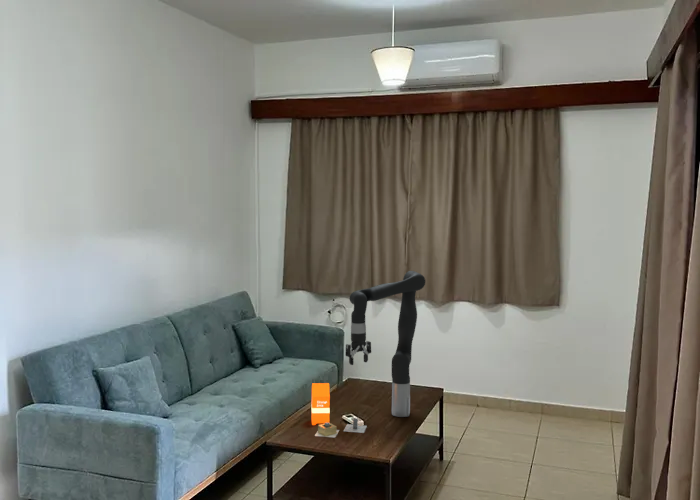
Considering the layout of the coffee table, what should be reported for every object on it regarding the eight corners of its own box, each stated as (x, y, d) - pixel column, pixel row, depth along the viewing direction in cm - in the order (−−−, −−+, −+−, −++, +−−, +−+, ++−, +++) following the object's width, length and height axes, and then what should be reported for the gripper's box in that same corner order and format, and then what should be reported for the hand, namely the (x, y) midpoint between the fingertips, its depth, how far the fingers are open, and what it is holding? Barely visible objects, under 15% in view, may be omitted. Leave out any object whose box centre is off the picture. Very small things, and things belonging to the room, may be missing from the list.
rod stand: (367, 427, 326) (367, 416, 325) (363, 434, 316) (363, 423, 315) (347, 425, 327) (347, 415, 327) (343, 432, 318) (343, 422, 317)
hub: (339, 431, 319) (339, 420, 318) (335, 439, 309) (335, 427, 309) (319, 430, 321) (319, 419, 320) (314, 437, 311) (314, 426, 310)
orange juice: (311, 419, 335) (311, 381, 334) (328, 419, 336) (329, 380, 335) (311, 425, 328) (312, 385, 326) (329, 424, 328) (330, 385, 327)
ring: (329, 429, 319) (329, 422, 319) (336, 433, 314) (336, 426, 314) (317, 432, 316) (318, 425, 315) (325, 436, 310) (325, 428, 310)
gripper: (365, 328, 338) (365, 359, 339) (342, 331, 330) (342, 364, 331) (374, 331, 332) (374, 362, 333) (351, 334, 323) (351, 367, 325)
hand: (358, 363), depth 332 cm, fingers open, 8 cm apart
